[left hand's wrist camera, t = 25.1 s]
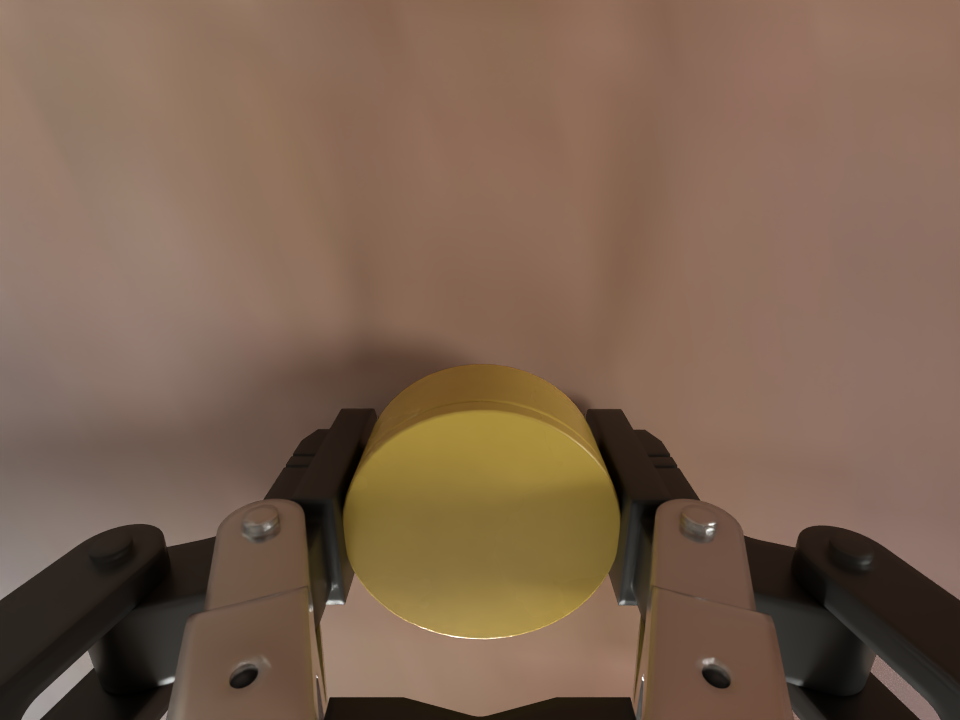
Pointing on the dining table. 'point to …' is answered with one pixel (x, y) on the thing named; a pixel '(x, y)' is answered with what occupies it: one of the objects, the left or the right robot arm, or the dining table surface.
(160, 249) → the dining table surface
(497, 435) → the lid
